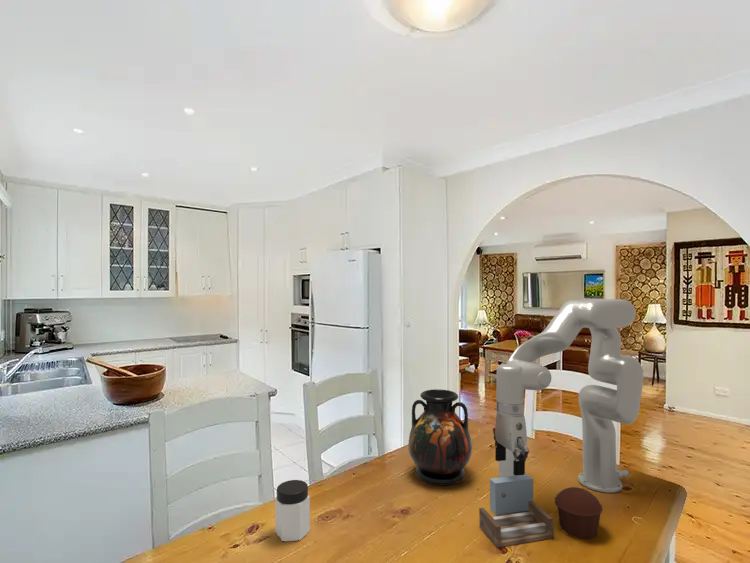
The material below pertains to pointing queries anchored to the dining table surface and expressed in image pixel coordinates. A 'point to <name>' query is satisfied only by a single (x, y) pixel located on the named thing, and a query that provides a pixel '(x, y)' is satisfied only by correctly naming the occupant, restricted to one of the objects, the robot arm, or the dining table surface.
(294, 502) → the jar
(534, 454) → the dining table surface
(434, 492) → the dining table surface
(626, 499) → the dining table surface
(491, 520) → the wooden rack
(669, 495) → the dining table surface
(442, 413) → the amphora vase
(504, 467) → the milk bottle
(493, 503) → the door panel
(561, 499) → the muffin
